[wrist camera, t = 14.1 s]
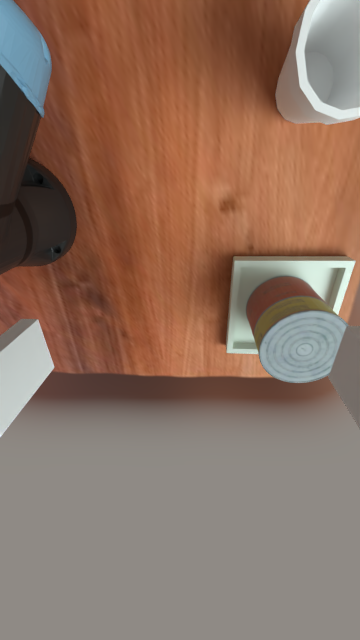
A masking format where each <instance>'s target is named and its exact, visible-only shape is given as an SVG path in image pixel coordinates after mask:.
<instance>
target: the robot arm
mask: <svg viewBox="0 0 360 640" xmlns="http://www.w3.org/2000/svg"><path fill="white" fill-rule="evenodd" d="M51 70H52V62H51V56H50V52H49V49H48V47H47V44H46V42H45V40H44V38H43V37H42V35H41V33H40V32H39V30H38V29H37V28H36V26H35V25H34V24H33V23H32V21H31V20H30V19H29V18H28V17H27V16H26V14H25V13H24V12H23V11H22V10H21V9H20V7H19V6H18V5H17V4H16V3H15V2H14V1H13V0H0V274H2V273H4V272H6V271H8V270H10V269H12V268H14V267H16V266H43V265H47V264H50V263H52V262H54V261H56V260H57V259H59V258H61V257H62V256H64V255H65V254H66V253H67V252H68V251H69V249H70V248H71V246H72V244H73V242H74V239H75V236H76V228H77V223H76V215H75V210H74V207H73V204H72V201H71V199H70V197H69V195H68V193H67V191H66V190H65V188H64V187H63V185H62V184H61V183H60V181H59V180H58V179H57V178H56V177H55V176H54V175H53V174H52V173H51V172H50V171H49V170H48V169H46V168H45V167H44V166H42V165H41V164H39V163H37V162H35V161H33V160H31V159H29V156H30V152H31V149H32V146H33V142H34V139H35V136H36V132H37V129H38V126H39V123H40V119H41V117H42V118H43V117H44V114H45V113H44V109H43V105H44V101H45V97H46V93H47V88H48V84H49V80H50V76H51ZM53 368H54V365H53V362H52V359H51V356H50V353H49V350H48V347H47V344H46V341H45V339H44V336H43V333H42V330H41V327H40V324H39V321H38V319H21V320H20V321H18V322H17V323H16V324H15V325H13V326H12V327H11V328H10V329H8V330H7V331H6V332H5V333H3V334H2V335H1V336H0V437H1V436H2V434H3V433H4V432H5V430H6V429H7V428H8V427H9V425H10V424H11V422H12V421H13V420H14V419H15V418H16V416H17V415H18V414H19V412H20V411H21V410H22V409H23V407H24V406H25V405H26V403H27V402H28V401H29V399H30V398H31V397H32V395H33V394H34V393H35V392H36V390H37V389H38V388H39V387H40V385H41V384H42V383H43V381H44V380H45V379H46V377H47V376H48V375H49V374H50V372H51V371H52V370H53ZM329 379H330V381H331V383H332V384H333V386H334V388H335V389H336V391H337V393H338V394H339V396H340V397H341V399H342V401H343V402H344V404H345V406H346V407H347V409H348V410H349V412H350V414H351V415H352V417H353V419H354V420H355V422H356V423H357V425H358V427H359V428H360V326H346V329H345V332H344V335H343V338H342V340H341V343H340V346H339V349H338V352H337V354H336V357H335V360H334V363H333V366H332V368H331V371H330V374H329Z"/></svg>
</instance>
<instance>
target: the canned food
mask: <svg viewBox="0 0 360 640" xmlns="http://www.w3.org/2000/svg"><path fill="white" fill-rule="evenodd" d="M246 316H247V319H248V321H249V324H250V327H251V330H252V334H253V337H254V340H255V343H256V347H257V350H258V353H259V359H260V362H261V364H262V366H263V368H264V369H265V370H266V371H267V372H268V373H269V374H270V375H271V376H273V377H275V378H277V379H279V380H282V381H286V382H291V383H305V382H311V381H315V380H318V379H321V378H323V377H326V376H327V375H329V374H330V371H331V368H332V366H333V363H334V360H335V357H336V354H337V352H338V349H339V346H340V343H341V340H342V338H343V335H344V332H345V329H346V326H348V324H347V323H346V322H345V321H344V320H343V319H342V318H340V317H339V316H338V315H337V314H336V313H335V312H334V311H333V310H332V309H331V308H330V307H329V305H328V304H327V303H326V302H325V301H324V300H323V299H322V298H321V297H320V296H319V295H318V294H317V293H316V292H315V291H314V290H313V288H312V287H311V286H310V285H309V284H308V283H307V282H306V281H304V280H303V279H301V278H298V277H295V276H288V275H284V276H277V277H273V278H270V279H268V280H266V281H264V282H263V283H261V284H260V285H259V286H257V287H256V288H255V289H254V290H253V292H252V293H251V295H250V296H249V298H248V301H247V304H246Z"/></svg>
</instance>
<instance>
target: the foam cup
mask: <svg viewBox="0 0 360 640" xmlns="http://www.w3.org/2000/svg"><path fill="white" fill-rule="evenodd" d="M275 97H276V104H277V109H278V111H279V112H280V114H281V115H282V116H283V118H284V119H285V120H288V121H290V122H293V123H296V124H297V123H317V122H321V123H324V124H326V125H328V124H334V123H339V122H345V121H351V120H354V119H357V118H360V0H309V2H308V4H307V6H306V8H305V9H304V11H303V13H302V15H301V16H300V18H299V20H298V22H297V23H296V25H295V27H294V32H293V37H292V41H291V45H290V48H289V51H288V54H287V56H286V59H285V62H284V65H283V67H282V70H281V73H280V75H279V79H278V83H277V88H276V93H275Z"/></svg>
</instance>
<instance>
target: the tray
mask: <svg viewBox="0 0 360 640" xmlns="http://www.w3.org/2000/svg"><path fill="white" fill-rule="evenodd" d="M354 264H355V260H353V259H351V258H350V257H348V256H233V263H232V275H231V287H230V299H229V311H228V323H227V335H226V351H227V353H244V354H259V353H258V350H257V347H256V343H255V340H254V337H253V334H252V330H251V327H250V324H249V321H248V319H247V316H246V304H247V301H248V298H249V296H250V295H251V293H252V292H253V290H254V289H255V288H256V287H257V286H259V285H260V284H261V283H263V282H264V281H266V280H268V279H270V278H273V277H277V276H284V275H288V276H295V277H298V278H301V279H303V280H304V281H306V282H307V283H308V284H309V285H310V286H311V287H312V288H313V290H314V291H315V292H316V293H317V294H318V295H319V296H320V297H321V298H322V299H323V300H324V301H325V302H326V303H327V304H328V305H329V307H330V308H331V309H332V310H333V311H334V312H335V313H336V314H337V315H338V313H339V310H340V307H341V304H342V301H343V298H344V295H345V292H346V289H347V286H348V283H349V279H350V276H351V273H352V270H353V267H354Z"/></svg>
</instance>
